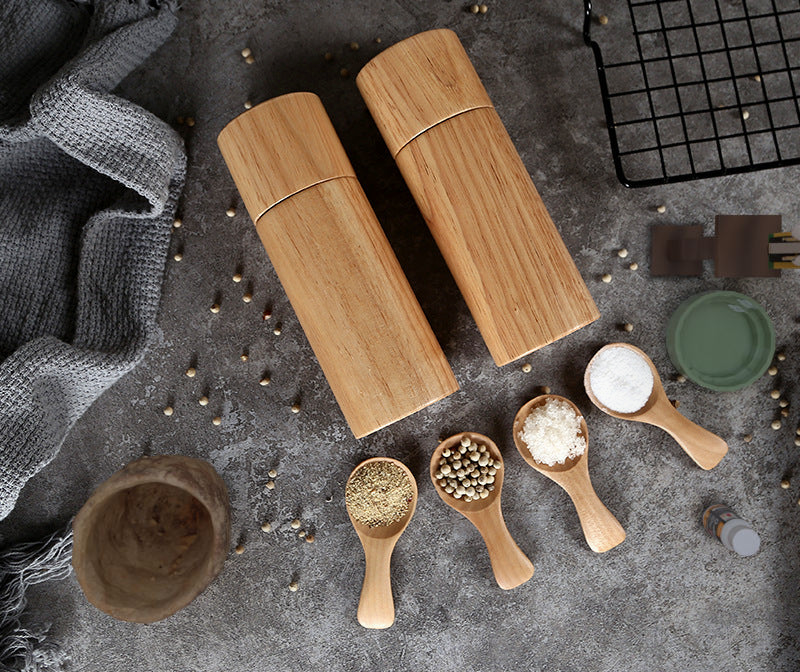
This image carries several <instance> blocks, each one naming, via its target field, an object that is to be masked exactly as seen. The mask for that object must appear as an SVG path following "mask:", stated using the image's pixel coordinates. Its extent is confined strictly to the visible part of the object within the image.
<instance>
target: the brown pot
mask: <svg viewBox="0 0 800 672" xmlns="http://www.w3.org/2000/svg"><path fill="white" fill-rule="evenodd" d="M71 521H72V522H71V528H72V544H73V545H72V551H71V567H72V569H73V570H74V573H75V575H76V579H77V581H78V584H79V586H80V588H81V590H82V592H83V594H84V596H85V598H86V599H87V601H88V603H89V604H90V605H91V606H93V607H94V608H96V609H97V610H99V611H100V612H102V613H105V614H106V615H108V616H110V617H111V618H113V619H115V620H118V621H123V622H127V623H134V624H141V625H142V624H143V625H144V624H152V623H156V622H161V621H164V620H166V619H168V618H171V617H172V616H173V615H175V614H176V613H178V612H180V611H181V610H182V609H184V608H186V607H188V606H189V605H191V604H192V603H193V602H194V601H195V600H196V599H197V598H198V597H200V596H202V594H203V593H204V592H205V591H206V589H208V587H209V586H210V585H211V584H212V583H214V582H215V581H216V580H217V579H218V578H219V577H220V575H221V573H222V572H223V571H224V569H225V563H226V561H227V559H228V555H229V552H230V549H231V548H230V547H231V542H232V508H231V504H230V494H229V490H228V486H227V485H226V483H225V482H224V480H223V478H222V477H221V475H220V474H219V473H218V471H217V470H216V469H215V467H214V466H213V465H211V463H209V462H208V461H206V460H203V459H200V458H197V457H192V456H188V455H183V454H173V453H172V454H163V453H162V454H158V455H157V454H156V455H150V456H145V457H140V458H136V459H132V460H130V461H129V462H127V463H126V464H125V465H124V466H122V467H121V468H119V469H118V470H117V471H116V472H114V473H113V474H112V475H110V477H108V478H107V479H106V480H104V481H103V482H102V483H100V484H99V485H98V486H97V487H96V488H95V489H94V491H93V492H92V493H91V495H90V496H89V498H88V499H87V500H86V502H85V503H84V504H83V506H81V508H80V509H79V511H78V512H77V513H76V514H75V516H74V517H73V518H72V520H71Z"/></svg>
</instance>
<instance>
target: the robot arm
mask: <svg viewBox="0 0 800 672" xmlns="http://www.w3.org/2000/svg"><path fill="white" fill-rule="evenodd" d="M790 230H791V231H790V232H791V235H792V236H793V237H792V236H781V237H770V239H769V244H768V247H767V253H768V255H769V261H770V262H792V263H793V264H795V265H797V266H800V224H795V225H793V226H792V227H791V229H790ZM795 242H798V243H795ZM795 253H798V256H795ZM792 260H793V261H792Z"/></svg>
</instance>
